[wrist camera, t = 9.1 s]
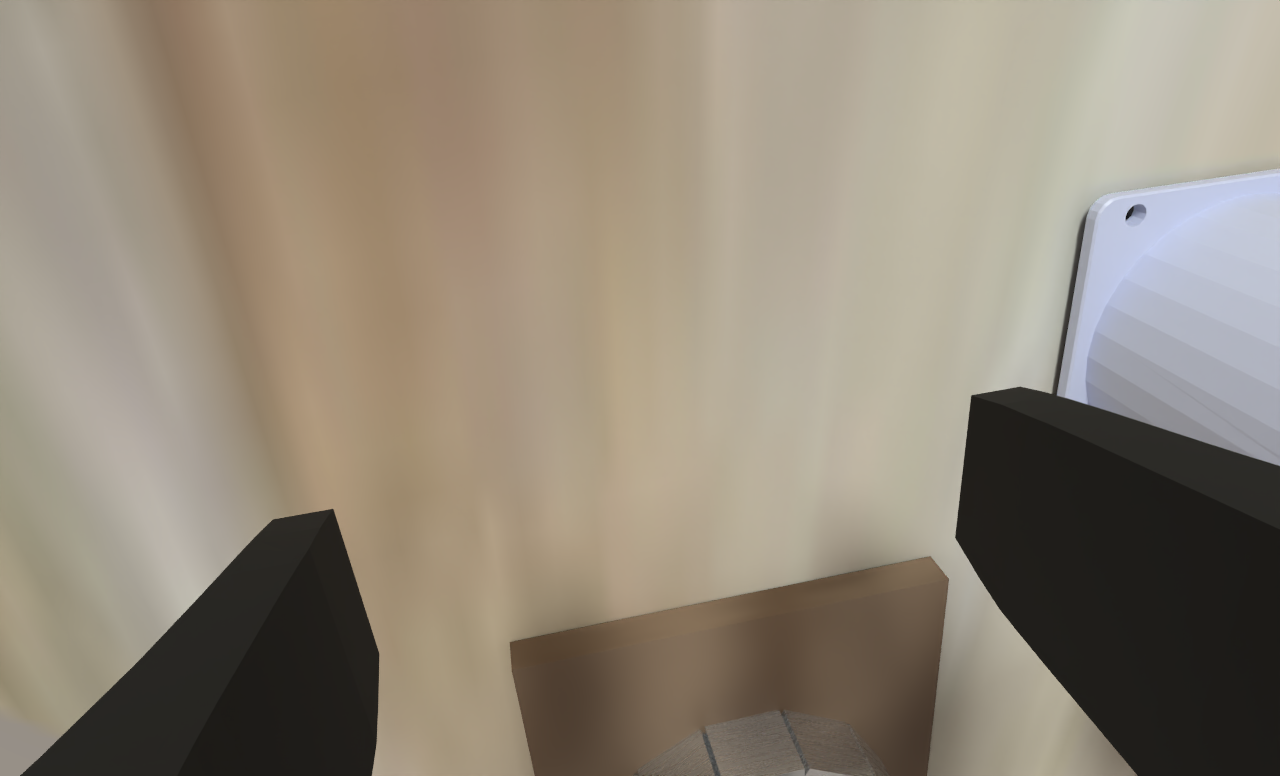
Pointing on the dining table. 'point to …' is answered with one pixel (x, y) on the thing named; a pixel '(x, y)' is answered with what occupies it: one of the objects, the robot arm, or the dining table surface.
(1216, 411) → the robot arm
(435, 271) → the dining table surface
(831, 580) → the collar board
